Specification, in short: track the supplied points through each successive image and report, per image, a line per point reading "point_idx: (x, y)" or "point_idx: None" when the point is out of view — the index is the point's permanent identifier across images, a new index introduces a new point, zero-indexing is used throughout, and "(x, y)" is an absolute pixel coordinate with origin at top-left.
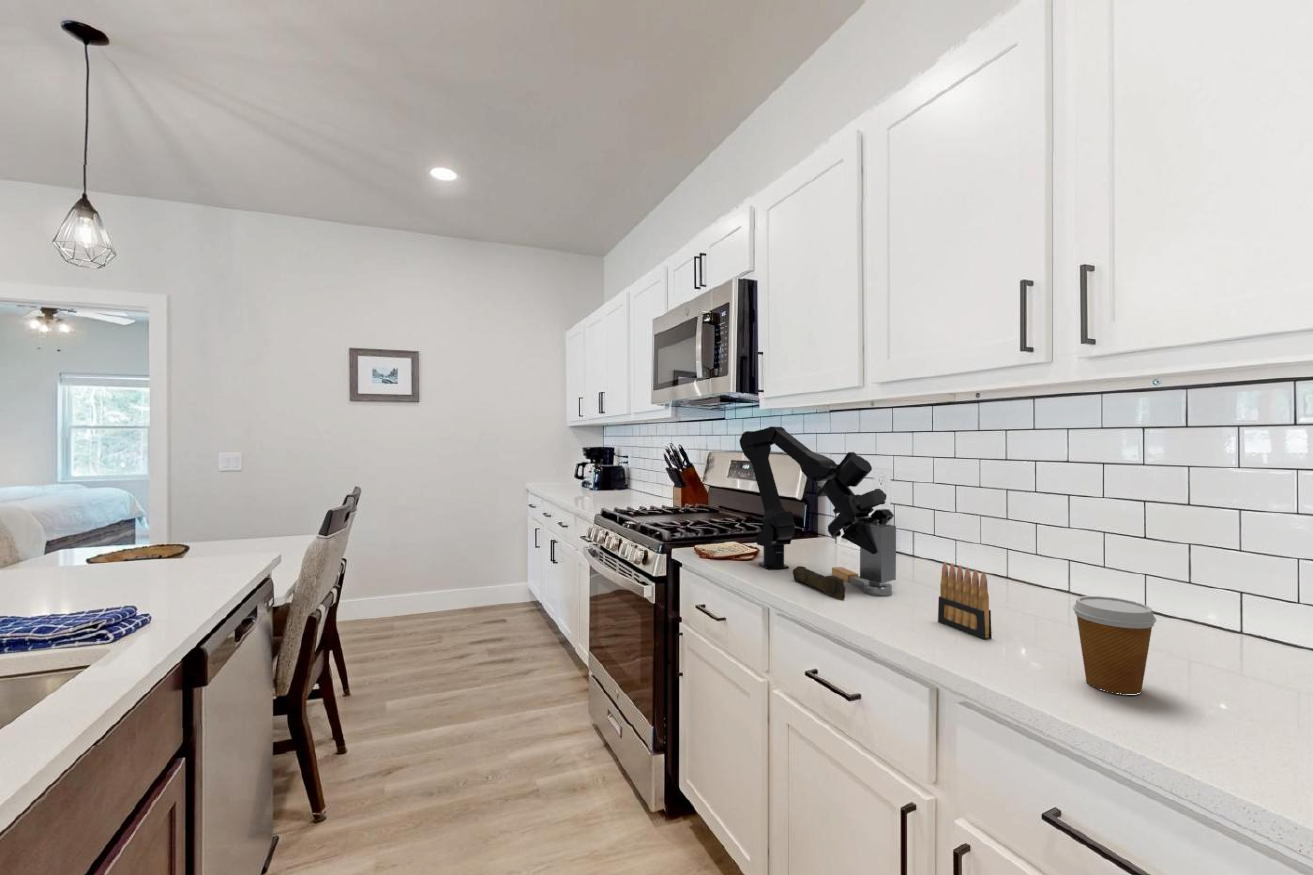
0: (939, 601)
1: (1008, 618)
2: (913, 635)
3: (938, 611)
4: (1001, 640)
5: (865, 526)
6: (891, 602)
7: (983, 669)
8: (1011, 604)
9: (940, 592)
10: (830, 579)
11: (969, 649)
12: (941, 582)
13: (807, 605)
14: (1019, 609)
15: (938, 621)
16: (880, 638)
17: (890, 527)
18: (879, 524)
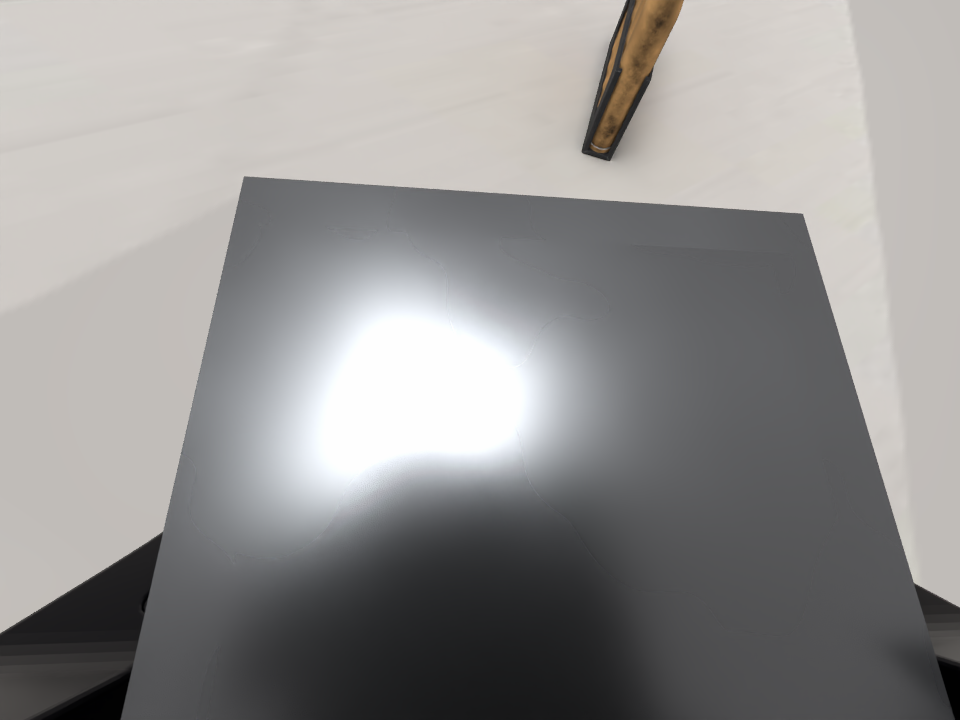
0: (642, 94)
1: (391, 61)
2: (769, 152)
3: (625, 129)
4: (601, 27)
5: (905, 683)
6: None
7: (792, 7)
8: (197, 95)
9: (654, 59)
10: None
11: (724, 49)
12: (680, 8)
13: None
14: (250, 66)
15: (611, 156)
16: (868, 189)
17: (473, 208)
18: (391, 565)
